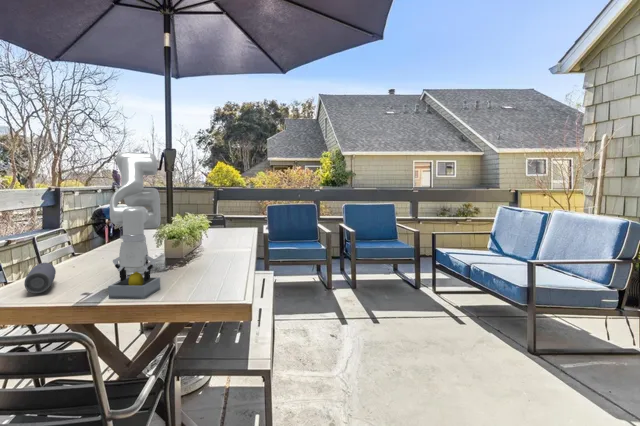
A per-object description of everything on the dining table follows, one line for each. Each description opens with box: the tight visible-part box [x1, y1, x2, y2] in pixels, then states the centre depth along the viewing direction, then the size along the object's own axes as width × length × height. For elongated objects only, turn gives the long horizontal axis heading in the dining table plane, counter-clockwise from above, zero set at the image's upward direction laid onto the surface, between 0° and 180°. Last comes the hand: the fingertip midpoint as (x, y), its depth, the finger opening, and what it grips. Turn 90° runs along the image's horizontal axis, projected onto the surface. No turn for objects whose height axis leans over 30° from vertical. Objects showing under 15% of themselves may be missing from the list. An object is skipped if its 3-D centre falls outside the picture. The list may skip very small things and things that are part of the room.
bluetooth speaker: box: [23, 262, 57, 294], centre depth 159 cm, size 23×9×10 cm, turn 30°
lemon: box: [128, 272, 144, 286], centre depth 153 cm, size 6×6×8 cm
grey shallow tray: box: [107, 276, 161, 300], centre depth 153 cm, size 14×14×5 cm
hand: (135, 280), depth 153 cm, fingers open, 9 cm apart
